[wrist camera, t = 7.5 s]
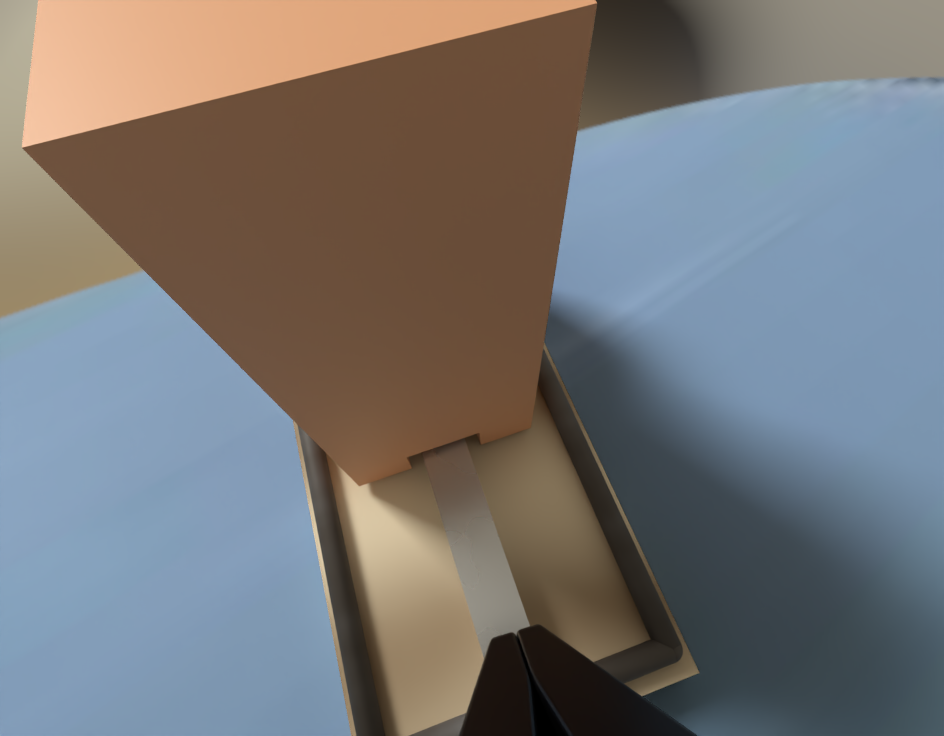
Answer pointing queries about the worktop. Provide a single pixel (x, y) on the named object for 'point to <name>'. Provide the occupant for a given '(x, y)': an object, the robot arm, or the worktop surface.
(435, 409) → the orange rectangular block
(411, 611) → the board
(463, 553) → the rail
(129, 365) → the worktop surface
